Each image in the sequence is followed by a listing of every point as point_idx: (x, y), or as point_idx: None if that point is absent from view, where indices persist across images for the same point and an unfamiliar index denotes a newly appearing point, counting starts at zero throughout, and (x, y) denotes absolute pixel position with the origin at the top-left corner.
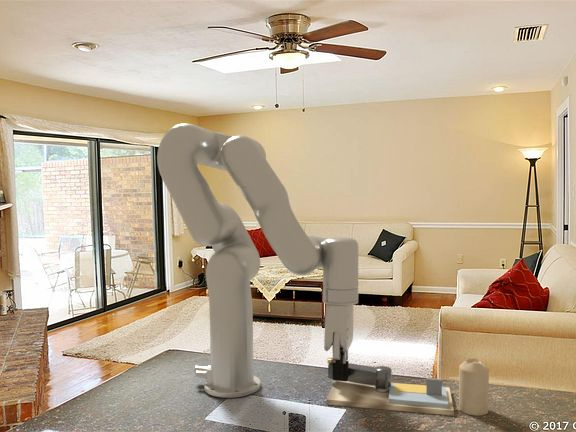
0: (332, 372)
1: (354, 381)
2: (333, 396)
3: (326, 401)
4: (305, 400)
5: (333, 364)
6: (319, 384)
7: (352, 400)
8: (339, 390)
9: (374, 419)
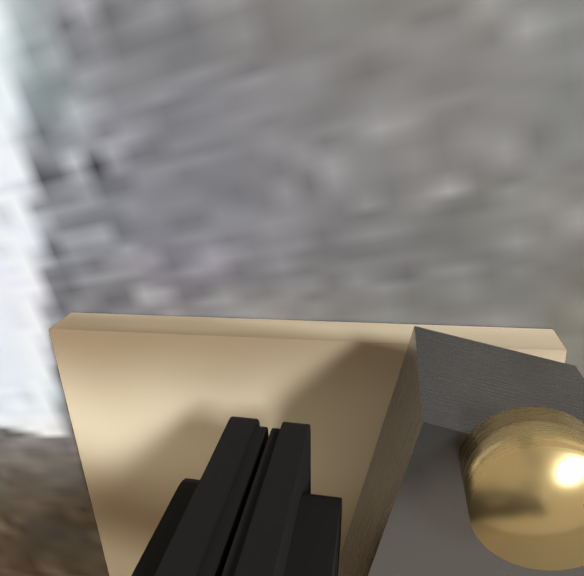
0: (403, 413)
1: (341, 559)
2: (122, 375)
3: (56, 323)
4: (74, 132)
5: (167, 568)
6: (497, 182)
7: (109, 496)
8: (258, 410)
9: (7, 564)
